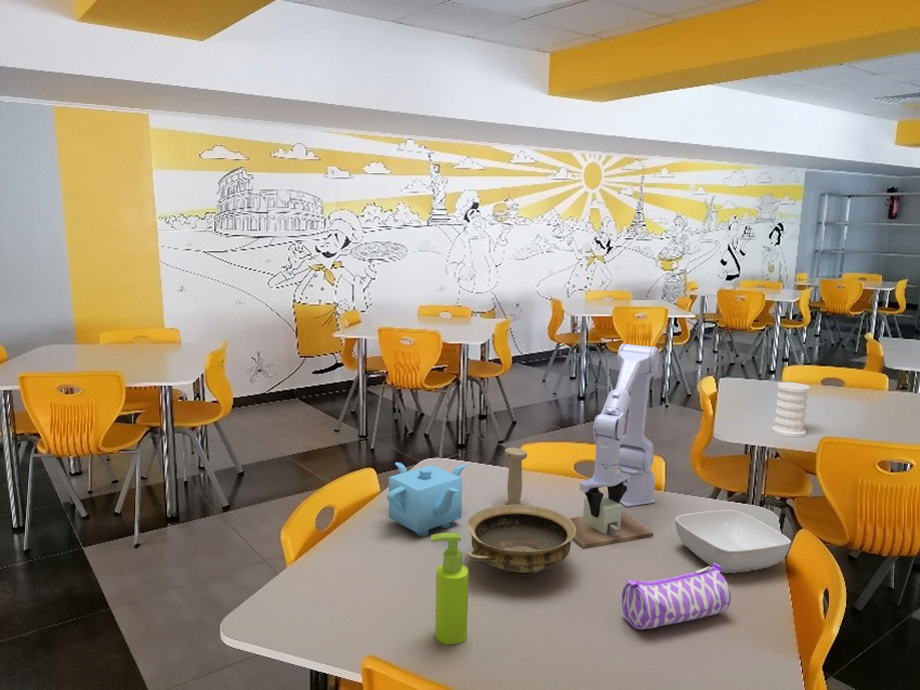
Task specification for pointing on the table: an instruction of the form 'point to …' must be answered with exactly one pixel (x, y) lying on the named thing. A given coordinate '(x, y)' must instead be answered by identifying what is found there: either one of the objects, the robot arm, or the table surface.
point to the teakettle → (425, 497)
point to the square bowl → (732, 540)
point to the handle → (515, 474)
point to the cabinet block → (603, 515)
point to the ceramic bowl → (520, 538)
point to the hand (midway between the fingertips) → (603, 513)
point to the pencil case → (675, 598)
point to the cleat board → (609, 532)
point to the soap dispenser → (451, 592)
